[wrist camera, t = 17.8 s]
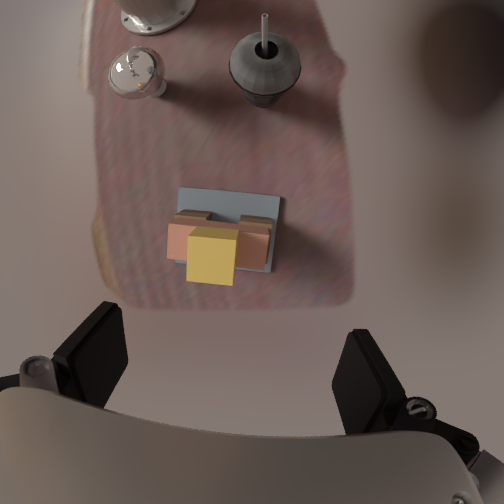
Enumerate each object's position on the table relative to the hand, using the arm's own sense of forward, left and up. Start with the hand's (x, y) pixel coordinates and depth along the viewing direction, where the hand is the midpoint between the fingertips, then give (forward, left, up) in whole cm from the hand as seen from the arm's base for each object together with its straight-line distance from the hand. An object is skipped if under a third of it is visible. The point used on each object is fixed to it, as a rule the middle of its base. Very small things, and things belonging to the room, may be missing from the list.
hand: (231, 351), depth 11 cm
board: (+2, -3, -30) cm, 31 cm away
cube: (+2, -3, -20) cm, 21 cm away
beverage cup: (-18, 0, -31) cm, 35 cm away
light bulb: (-18, -15, -31) cm, 38 cm away
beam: (+2, -3, -24) cm, 25 cm away
